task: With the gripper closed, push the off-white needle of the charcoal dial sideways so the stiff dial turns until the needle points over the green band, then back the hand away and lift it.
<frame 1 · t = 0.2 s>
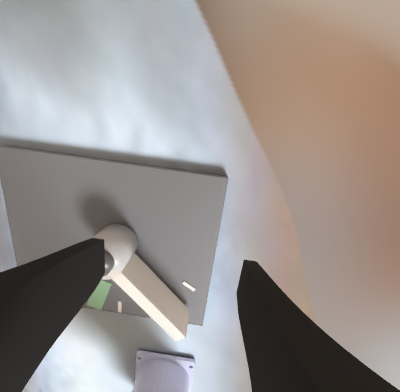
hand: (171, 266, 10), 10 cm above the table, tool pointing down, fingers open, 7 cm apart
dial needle: (141, 284, 18), point 3 cm above the table, hinge at 45.0°
dial base: (124, 235, 21), on the table
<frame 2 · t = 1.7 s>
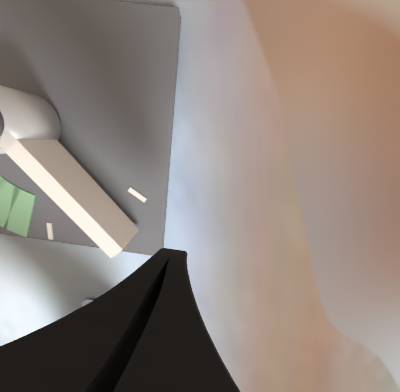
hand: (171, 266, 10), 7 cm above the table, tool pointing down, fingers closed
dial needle: (60, 176, 13), point 3 cm above the table, hinge at 45.0°
dial base: (49, 125, 15), on the table
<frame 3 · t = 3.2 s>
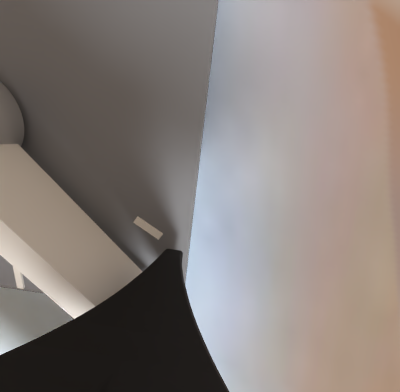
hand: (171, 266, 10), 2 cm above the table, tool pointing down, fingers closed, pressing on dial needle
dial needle: (18, 207, 8), point 3 cm above the table, hinge at 44.9°, touching gripper
dial base: (10, 120, 10), on the table
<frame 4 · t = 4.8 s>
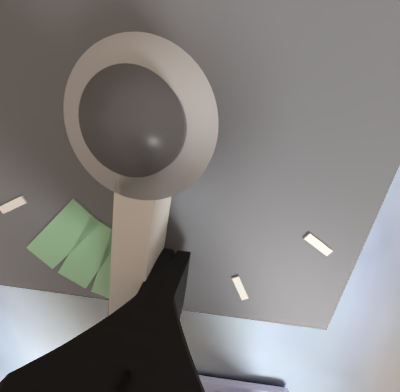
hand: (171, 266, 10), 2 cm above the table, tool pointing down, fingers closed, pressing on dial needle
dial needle: (142, 247, 7), point 3 cm above the table, hinge at -4.2°, touching gripper
dial base: (173, 131, 9), on the table
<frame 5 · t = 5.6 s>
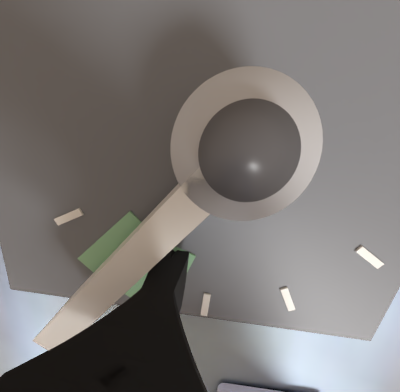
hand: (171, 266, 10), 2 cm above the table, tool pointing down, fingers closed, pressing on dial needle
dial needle: (153, 234, 7), point 3 cm above the table, hinge at -37.0°, touching gripper
dial base: (229, 146, 9), on the table
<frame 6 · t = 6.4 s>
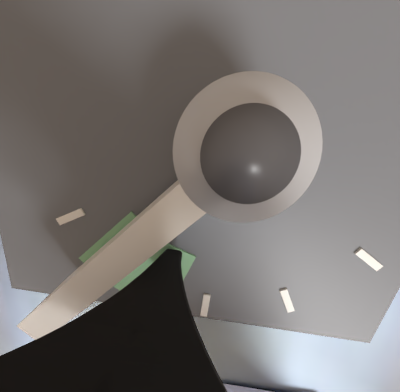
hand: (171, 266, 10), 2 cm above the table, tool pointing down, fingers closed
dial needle: (147, 229, 7), point 3 cm above the table, hinge at -41.5°, touching gripper
dial base: (230, 148, 9), on the table
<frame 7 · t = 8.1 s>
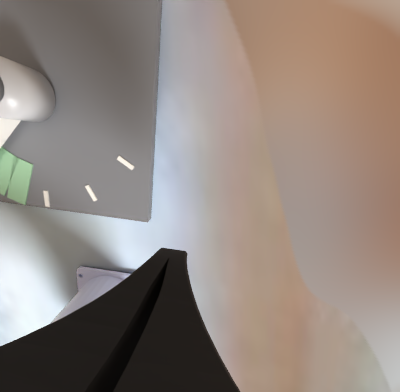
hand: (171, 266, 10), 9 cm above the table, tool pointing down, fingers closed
dial base: (45, 99, 17), on the table
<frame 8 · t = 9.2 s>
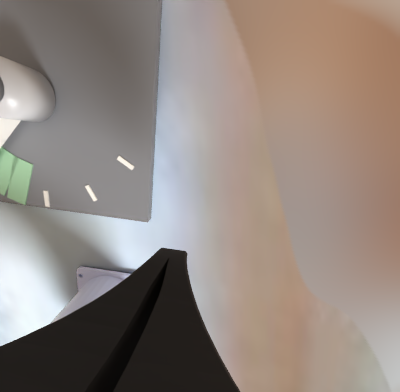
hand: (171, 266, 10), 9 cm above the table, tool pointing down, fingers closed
dial base: (45, 99, 17), on the table
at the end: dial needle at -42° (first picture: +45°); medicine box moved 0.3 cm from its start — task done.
